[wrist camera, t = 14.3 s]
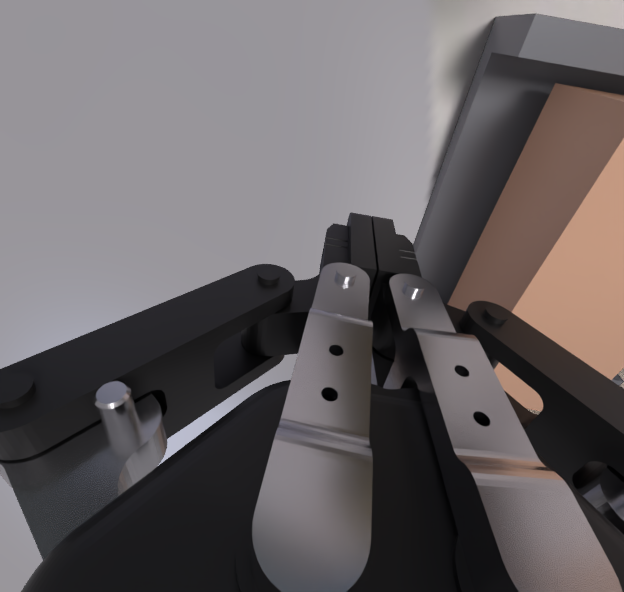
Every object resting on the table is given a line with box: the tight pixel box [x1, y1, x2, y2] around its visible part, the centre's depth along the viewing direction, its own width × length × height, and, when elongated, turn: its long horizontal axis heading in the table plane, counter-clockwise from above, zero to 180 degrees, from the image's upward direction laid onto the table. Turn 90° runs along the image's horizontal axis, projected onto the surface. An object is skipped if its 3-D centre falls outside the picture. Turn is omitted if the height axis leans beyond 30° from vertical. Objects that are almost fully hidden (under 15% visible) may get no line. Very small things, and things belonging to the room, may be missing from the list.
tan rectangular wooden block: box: [447, 83, 624, 411], centre depth 13 cm, size 5×11×4 cm, turn 172°
